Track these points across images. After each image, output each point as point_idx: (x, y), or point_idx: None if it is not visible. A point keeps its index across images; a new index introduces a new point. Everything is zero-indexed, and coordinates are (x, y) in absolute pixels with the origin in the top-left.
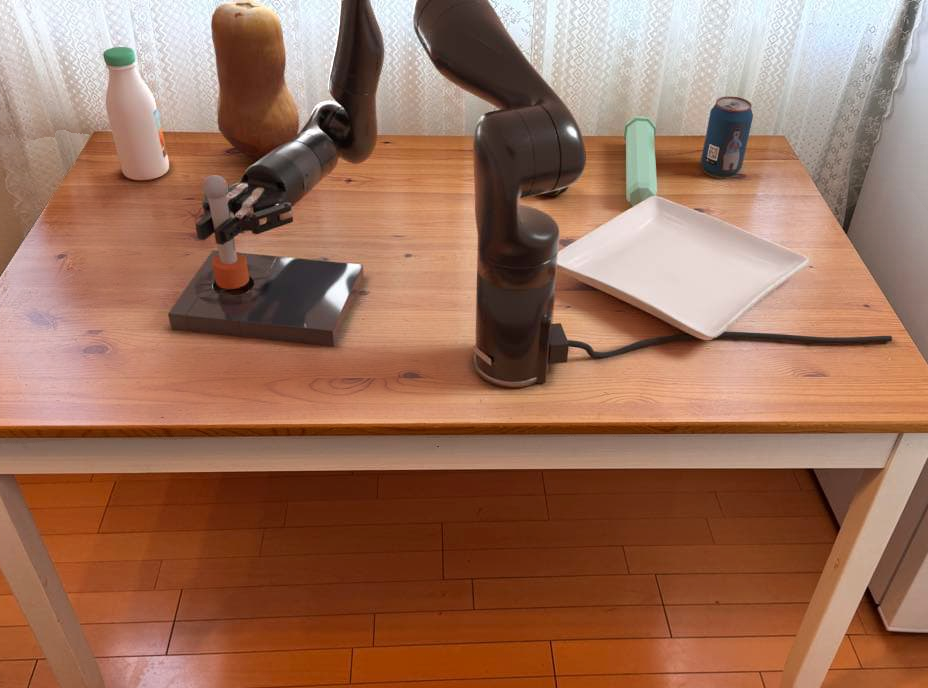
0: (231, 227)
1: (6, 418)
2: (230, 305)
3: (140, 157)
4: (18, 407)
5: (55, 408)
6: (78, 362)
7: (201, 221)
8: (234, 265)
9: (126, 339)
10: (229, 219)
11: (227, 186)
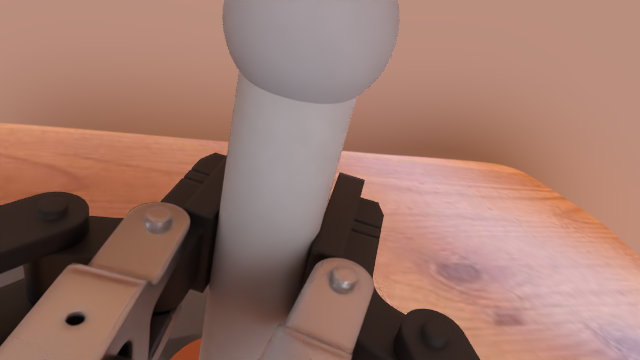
0: (192, 177)
1: (458, 166)
2: (199, 332)
3: None
4: (461, 178)
5: (413, 173)
6: (460, 245)
7: (354, 191)
8: (198, 354)
9: (427, 299)
10: (213, 196)
11: (225, 9)
